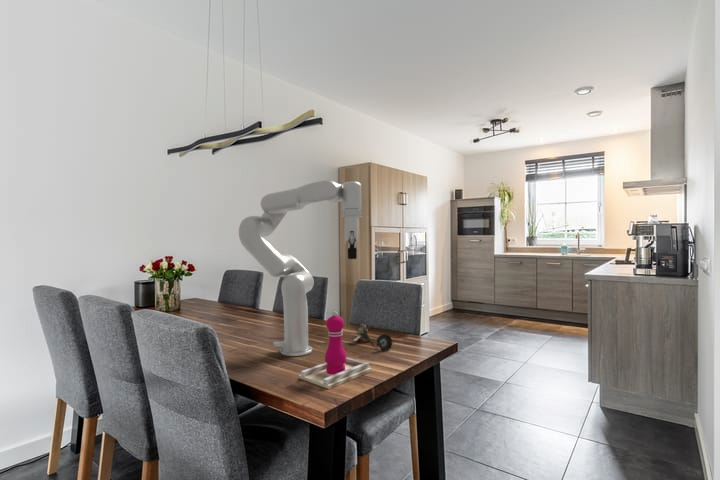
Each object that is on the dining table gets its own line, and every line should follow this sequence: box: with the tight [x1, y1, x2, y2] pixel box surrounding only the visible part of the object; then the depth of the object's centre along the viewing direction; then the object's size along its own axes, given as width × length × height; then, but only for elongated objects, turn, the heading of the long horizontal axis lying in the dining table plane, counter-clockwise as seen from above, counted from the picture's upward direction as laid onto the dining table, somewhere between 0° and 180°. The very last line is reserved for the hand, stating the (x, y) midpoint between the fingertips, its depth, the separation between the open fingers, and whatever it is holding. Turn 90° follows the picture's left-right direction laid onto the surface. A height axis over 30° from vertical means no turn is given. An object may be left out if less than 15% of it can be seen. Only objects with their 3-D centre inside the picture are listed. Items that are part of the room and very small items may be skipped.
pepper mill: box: [324, 311, 347, 375], centre depth 127 cm, size 7×7×20 cm
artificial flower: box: [352, 323, 393, 352], centre depth 163 cm, size 9×22×10 cm, turn 26°
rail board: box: [298, 356, 373, 390], centre depth 127 cm, size 20×14×2 cm
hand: (352, 258), depth 148 cm, fingers open, 9 cm apart
